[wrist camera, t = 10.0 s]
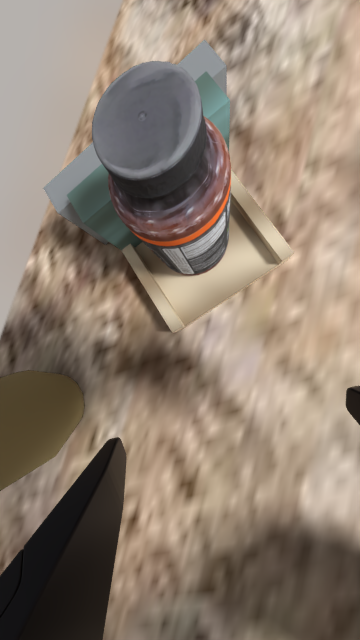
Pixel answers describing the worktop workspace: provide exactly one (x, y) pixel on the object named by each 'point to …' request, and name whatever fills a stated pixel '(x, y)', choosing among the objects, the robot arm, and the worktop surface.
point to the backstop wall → (88, 160)
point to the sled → (157, 278)
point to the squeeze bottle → (35, 420)
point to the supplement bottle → (165, 165)
